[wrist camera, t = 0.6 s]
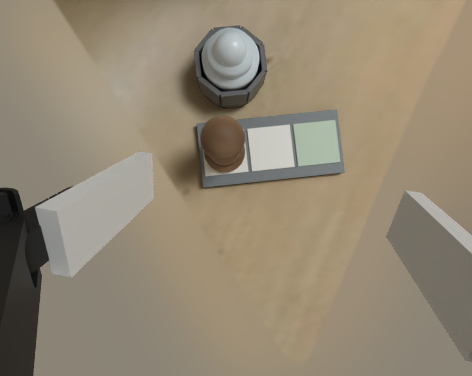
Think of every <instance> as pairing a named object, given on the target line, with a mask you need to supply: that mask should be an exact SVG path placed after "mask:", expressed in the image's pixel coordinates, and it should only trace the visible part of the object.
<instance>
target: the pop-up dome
mask: <svg viewBox="0 0 472 376" xmlns="http://www.w3.org/2000/svg"><path fill="white" fill-rule="evenodd" d="M202 64H203V69H204V73H205V76H206V78H207V80H208V81H209V82H210V83H211V84H212V85H213V86H214V87H216V88H217V89H218V90H221V91H224V92H227V91H237V90H243V89H245V88H247V87H248V86H249V85H250V84H251V83H252V82H253V80H254V79H255V77H256V74H257V70H258V65H259V51H258V48H257V46H256V44H255V42H254V41H253V39H252V38H251V37H250V36H248V35H247V34H246V33H245V32H243V31H242V30H240V29H237V28H224V29H221V30H219V31H217V32H216V33H215V34H214V35H212V36H211V37H210V38H209V39H208V40H207V42H206V43H205V45H204V47H203V51H202Z"/></svg>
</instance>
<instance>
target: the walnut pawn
mask: <svg viewBox="0 0 472 376" xmlns="http://www.w3.org/2000/svg"><path fill="white" fill-rule="evenodd" d="M200 141H201V146H202V148H203V150H204V156H205V159H206V161H207V163H208V164H209V166H210V167H211V168H213V169H214V170H216V171H218V172H223V173H227V172H231V171H234V170H235V169H237V168H238V167H239V166H240V165H241V164H242V162H243V160H244V157H245V146H244V144H245V133H244V130H243V128H242V126H241V125H240V123H239V122H238V121H237V120H235V119H234V118H232V117H229V116H216V117H214V118H212V119H210V120H209V121H207V122H206V123H205V125H204V126H203V128H202V131H201V135H200Z"/></svg>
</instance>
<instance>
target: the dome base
mask: <svg viewBox="0 0 472 376" xmlns="http://www.w3.org/2000/svg"><path fill="white" fill-rule="evenodd" d="M224 28H237V29H240V30H242V31H243V32H245V33H246V34H247V35H248V36H250V37H251V38H252V39H253V41H254V42H255V44H256V46H257V48H258V51H259V65H258V70H257V74H256V77H255V79H254V80H253V82H252V83H251V84H250V85H249V86H248V87H247V88H245V89H243V90H237V91H227V92H224V91H221V90H218V89H217V88H216V87H214V86H213V85H212V84H211V83H210V82H209V81H208V80H207V78H206V76H205V73H204V69H203V64H202V51H203V47H204V45H205V43H206V42H207V40H208V39H209V38H210V37H211V36H212V35H214V34H215V33H216V32H217V31H219V30H221V29H224ZM194 56H195V65H196V75H197V80H198V84H199V87H200V89H201V91H202V92H203V93H204V94H205V95H206V97H207V98H208V99H209V100H210V101H212V102H213V103H215V104H216V105H219V106H221V107H225V108H236V107H240V106H243V105H245V104H247V103H248V102H250V101H251V100H252V99H253V98H254V97H255V96H256V94H257V93H258V91H259V89H260V88H261V87H262V85H263V83H264V80H265V76H266V72H267V66H266V57H265V48H264V45H263V42H262V41H260V40H259V39H258V38H257V37H255V36H254V35H253V34H252V33H250V32H249V31H248V30H247V29H245V28H244V27H243V26H242V27H241V28H240V26H229V27H218V28H214V30H212V29H211V30H210V31H209V33H208V34H207V35H206V36H205V37H204V39H203V40H202V41H201V42H200V43H199V44H198V46H197V47H196V48H195V51H194Z"/></svg>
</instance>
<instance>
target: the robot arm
mask: <svg viewBox="0 0 472 376" xmlns="http://www.w3.org/2000/svg"><path fill="white" fill-rule="evenodd" d="M152 162H153V161H152V153H147V152H137V153H135V154H133V155H131V156H129V157H128V158H126V159H124V160H122V161H120V162H118V163H116V164H115V165H113V166H111V167H109V168H107V169H105V170H103V171H101V172H100V173H98V174H96V175H94V176H92V177H90V178H88V179H87V180H85V181H83V182H81V183H79V184H77V185H75V186H72V187H69V188H66V189H64V190H63V191H61V192H59V193H58V194H55V195H53V196H51V197H50V198H49V199H46V200H44V201H42V202H40V203H38V204H36V205H34V206H32V207H30V208H28V209H27V210H25V211H24V210H23V207H22V203H21V200H20V196H19V193H18V191H17V190H15V189H13V188H0V376H33V369H34V359H35V348H36V337H37V324H38V313H39V302H40V290H41V279H42V275H41V271H40V267H41V266H43V265H44V264H45V263H46V262H47V261H49V264H50V268H51V272H52V274H55V275H61V276H65V277H70V278H72V277H73V276H74V275H75V274H76V273H77V272H78V271H79V270H80V269H81V268H82V267H83V266H84V265H85V264H86V263H87V262H88V261H89V260H90V259H91V258H92V257H93V256H94V255H95V254H96V253H98V251H100V250H101V249H102V248H103V247H104V246H105V245H106V244H107V243H108V242H109V241H110V240H111V239H112V238H113V237H114V236H115V235H116V234H117V233H118V232H119V231H120V230H121V229H122V228H123V227H125V225H127V223H128V222H130V221H131V220H132V219H133V218H134V217H135V216H136V215H137V214H138V213H139V212H140V211H141V210H142V209H143V208H144V207H145V206H146V205H147V204H148V203H149V202H150V201H151V200H153V199H154V189H153V188H154V186H153V163H152ZM386 237H387V239H388V240H389V242H390V243H391V245H392V246H393V248H394V250H395V251H396V253H397V254H398V256H399V258H400V259H401V261H402V262H403V264H404V265H405V267H406V269H407V270H408V272H409V273H410V275H411V276H412V278H413V280H414V281H415V283H416V284H417V286H418V287H419V289H420V291H421V292H422V294H423V295H424V297H425V298H426V300H427V301H428V303H429V305H430V306H431V308H432V309H433V311H434V312H435V314H436V316H437V317H438V319H439V320H440V322H441V323H442V325H443V326H444V328H445V330H446V331H447V333H448V334H449V336H450V337H451V339H452V341H453V342H454V343H455V345H456V347H457V348H458V350H459V352H460V353H461V355H462V356H463V357H464V359H465V360H467V361H471V362H472V235H470V234H469V233H468V232H467V231H466V230H465V229H463V228H462V227H461V226H460V225H459V224H458V223H456V222H455V221H454V220H453V219H452V218H450V217H449V216H448V215H447V214H446V213H445V212H443V211H442V210H441V209H440V208H439V207H438V206H436V205H435V204H434V203H433V202H432V201H430V200H429V199H428V198H427V197H426V196H425V195H423V194H422V193H419V192H412V191H404V194H403V197H402V199H401V201H400V204H399V206H398V209H397V211H396V214H395V216H394V219H393V221H392V224H391V226H390V228H389V231H388V233H387V236H386Z"/></svg>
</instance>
